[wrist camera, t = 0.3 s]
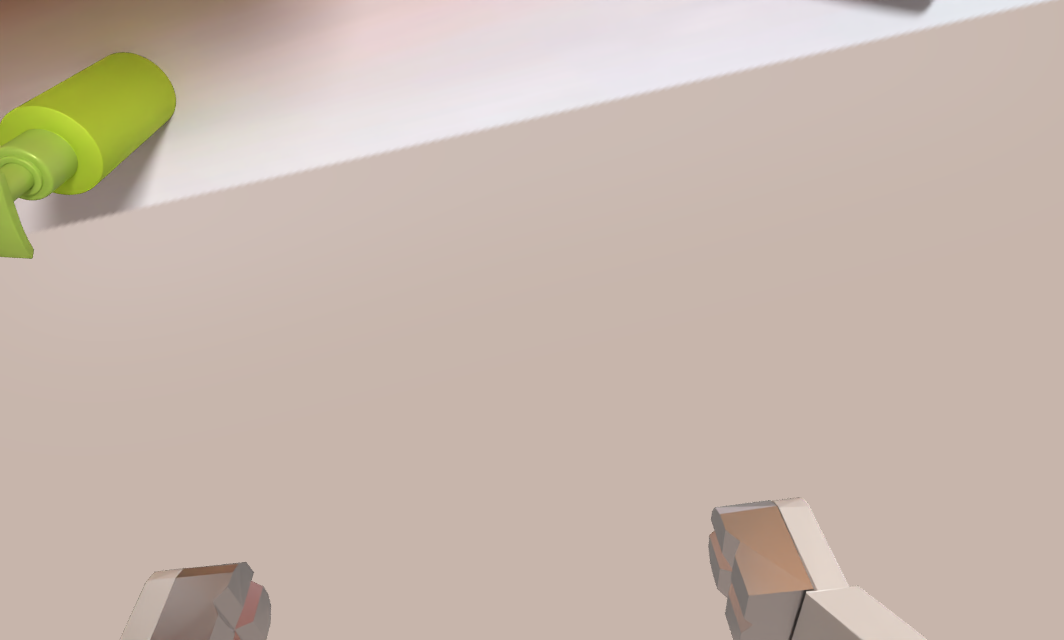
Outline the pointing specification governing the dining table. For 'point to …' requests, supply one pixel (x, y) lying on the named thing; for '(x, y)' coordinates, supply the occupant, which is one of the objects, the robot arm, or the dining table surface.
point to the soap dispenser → (77, 135)
